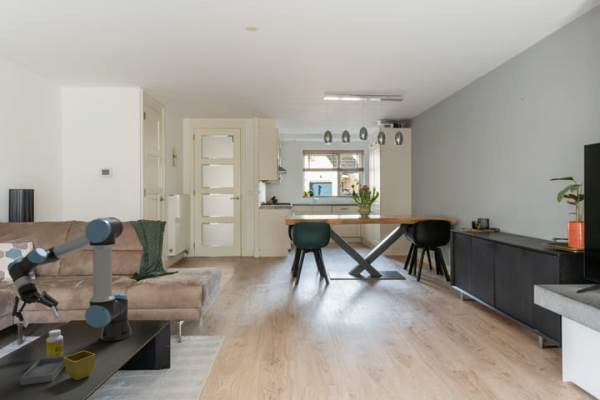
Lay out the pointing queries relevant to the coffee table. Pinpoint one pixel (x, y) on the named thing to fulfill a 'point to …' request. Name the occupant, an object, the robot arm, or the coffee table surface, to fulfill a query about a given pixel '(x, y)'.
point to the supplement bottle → (54, 344)
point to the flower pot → (79, 364)
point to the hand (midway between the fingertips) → (42, 321)
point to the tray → (43, 370)
